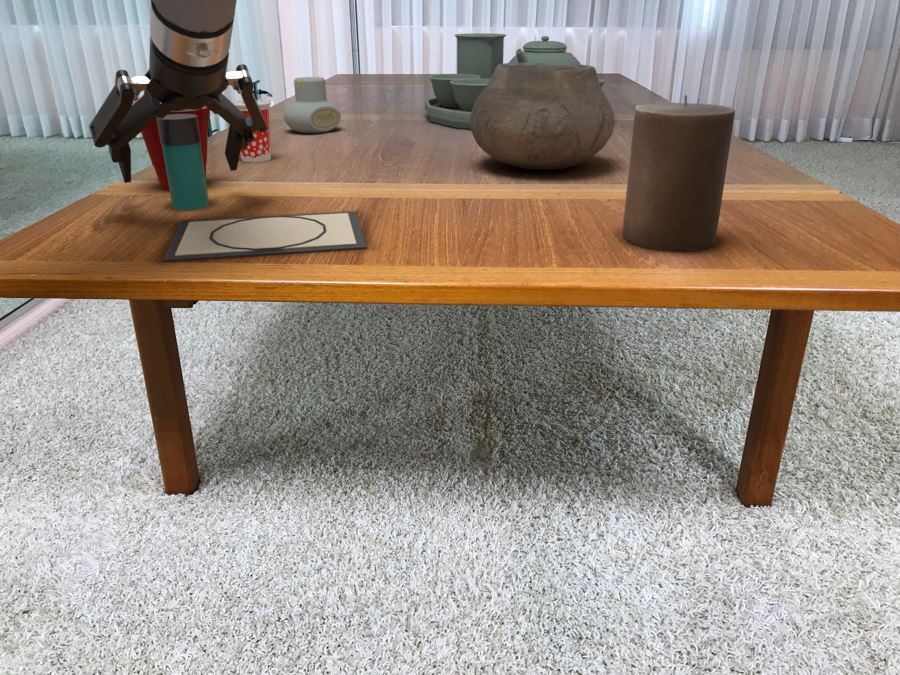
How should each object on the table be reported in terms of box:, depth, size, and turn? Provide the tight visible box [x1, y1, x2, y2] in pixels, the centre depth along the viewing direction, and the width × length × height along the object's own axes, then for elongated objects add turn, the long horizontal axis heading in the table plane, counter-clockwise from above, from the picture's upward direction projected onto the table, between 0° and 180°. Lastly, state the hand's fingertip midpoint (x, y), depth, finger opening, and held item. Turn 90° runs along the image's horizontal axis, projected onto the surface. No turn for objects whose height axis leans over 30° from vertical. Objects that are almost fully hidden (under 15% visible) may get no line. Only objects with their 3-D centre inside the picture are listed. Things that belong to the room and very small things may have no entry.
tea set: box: [424, 32, 606, 130], centre depth 152 cm, size 40×40×16 cm
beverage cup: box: [231, 99, 272, 163], centre depth 113 cm, size 6×6×14 cm
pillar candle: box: [622, 94, 736, 254], centre depth 74 cm, size 10×10×15 cm
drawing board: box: [162, 210, 368, 263], centre depth 78 cm, size 20×14×1 cm
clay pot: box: [469, 62, 616, 172], centre depth 107 cm, size 22×21×15 cm
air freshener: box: [283, 76, 342, 135], centre depth 139 cm, size 11×8×10 cm
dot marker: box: [157, 114, 210, 211], centre depth 88 cm, size 5×5×11 cm
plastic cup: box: [132, 94, 211, 192], centre depth 97 cm, size 11×11×12 cm
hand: (179, 167), depth 90 cm, fingers open, 12 cm apart
